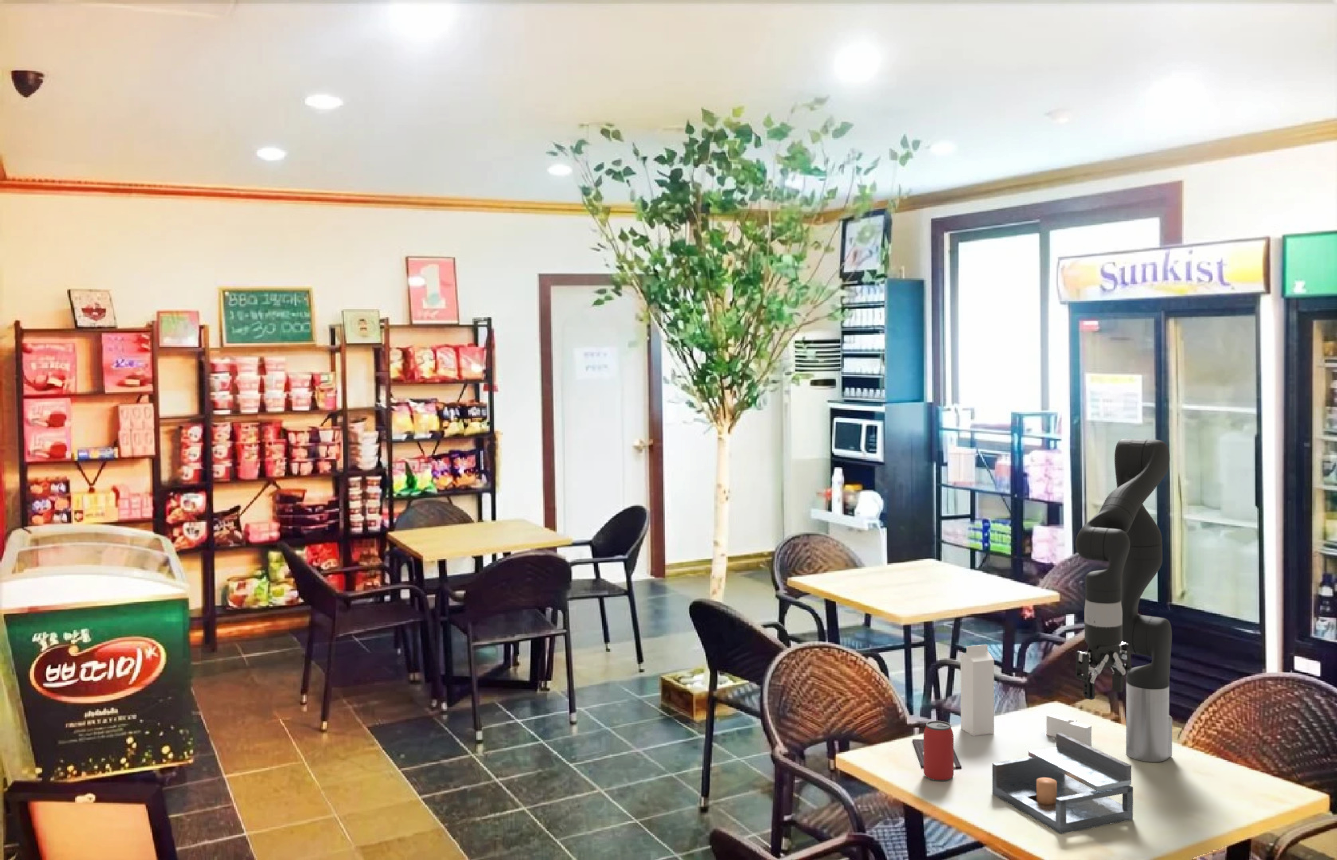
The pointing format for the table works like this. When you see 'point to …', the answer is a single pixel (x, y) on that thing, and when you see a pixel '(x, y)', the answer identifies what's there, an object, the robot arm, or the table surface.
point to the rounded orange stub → (1046, 791)
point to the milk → (977, 691)
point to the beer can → (938, 751)
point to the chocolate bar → (920, 753)
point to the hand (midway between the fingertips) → (1103, 695)
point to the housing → (1059, 797)
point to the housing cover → (1084, 764)
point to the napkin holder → (1068, 728)
